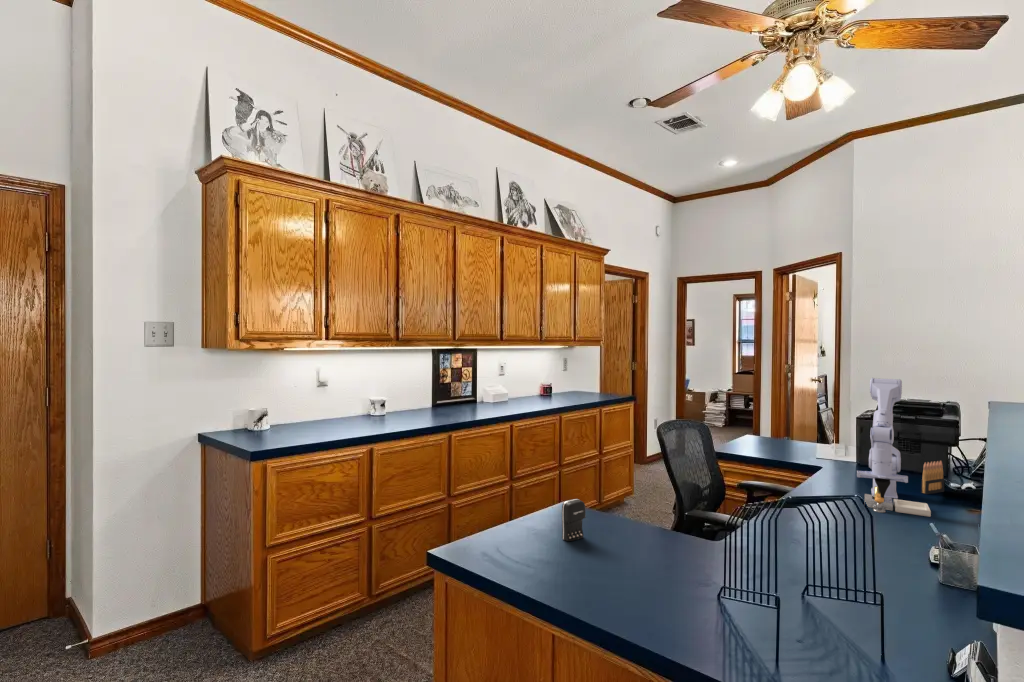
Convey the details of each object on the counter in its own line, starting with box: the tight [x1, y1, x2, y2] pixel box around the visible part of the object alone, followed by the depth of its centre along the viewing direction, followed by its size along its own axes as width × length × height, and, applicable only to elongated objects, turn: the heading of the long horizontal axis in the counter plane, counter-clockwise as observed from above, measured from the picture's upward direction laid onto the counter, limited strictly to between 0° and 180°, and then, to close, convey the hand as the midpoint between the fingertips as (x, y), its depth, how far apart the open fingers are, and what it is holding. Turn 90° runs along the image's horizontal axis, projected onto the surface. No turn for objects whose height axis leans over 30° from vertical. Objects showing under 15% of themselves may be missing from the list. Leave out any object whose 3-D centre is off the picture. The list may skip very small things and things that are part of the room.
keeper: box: [875, 494, 884, 502], centre depth 188 cm, size 7×3×1 cm, turn 150°
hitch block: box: [864, 493, 894, 514], centre depth 190 cm, size 13×8×3 cm, turn 148°
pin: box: [874, 486, 881, 499], centre depth 192 cm, size 2×2×6 cm
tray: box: [892, 498, 932, 517], centre depth 187 cm, size 10×10×2 cm
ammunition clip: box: [920, 460, 945, 495], centre depth 208 cm, size 11×2×12 cm, turn 110°
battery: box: [561, 498, 587, 542], centre depth 161 cm, size 7×4×11 cm, turn 123°
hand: (881, 500), depth 188 cm, fingers closed, pressing on keeper
